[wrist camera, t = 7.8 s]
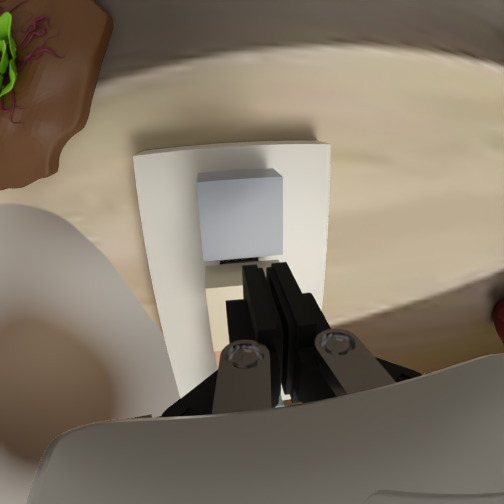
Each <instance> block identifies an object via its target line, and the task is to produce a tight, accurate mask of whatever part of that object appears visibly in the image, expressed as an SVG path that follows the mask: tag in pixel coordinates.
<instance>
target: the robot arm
mask: <svg viewBox="0 0 504 504" xmlns="http://www.w3.org/2000/svg"><path fill="white" fill-rule="evenodd" d="M242 279H243V299H238V300H226V314H227V325H228V335H229V344H228V345H227V346H225V348H224V349H223V350H222V352H221V354H220V360H219V367H218V370H216V371H215V372H214V373H213V374H211V375H210V376H209V377H208V378H206V379H205V380H204V381H203V382H201V383H200V384H199V385H197V386H196V387H195V388H194V389H192V390H191V391H190V392H188V393H187V394H186V395H185V396H183V397H182V398H181V399H179V400H178V401H177V402H176V403H174V404H173V405H172V406H170V407H169V408H168V409H167V410H166V411H165V412H164V413H163V414H162V416H159V417H153V418H152V415H147V416H140V417H135V418H127V419H115V420H107V421H101V422H95V423H90V424H87V425H83V426H79V427H76V428H73V429H71V430H68V431H66V432H64V433H62V434H60V435H59V436H57V437H56V438H55V439H54V440H53V441H52V442H51V443H50V444H49V446H48V447H47V448H46V450H45V452H44V454H43V455H42V458H41V460H40V462H39V465H38V467H37V470H36V473H35V476H34V478H33V482H32V485H31V489H30V493H29V497H28V501H27V504H504V353H500V354H493V355H487V356H483V357H479V358H475V359H472V360H469V361H466V362H463V363H460V364H456V365H453V366H450V367H447V368H444V369H441V370H438V371H435V372H427V373H425V374H424V375H421V374H420V373H418V372H416V371H414V370H411V369H408V368H405V367H402V366H399V365H396V364H393V363H390V362H387V361H385V360H382V359H379V358H376V357H374V356H373V355H372V354H371V352H370V351H369V350H368V349H367V348H366V347H365V345H364V344H363V343H362V342H361V341H360V340H359V338H358V337H357V336H355V335H354V334H353V333H351V332H349V331H347V330H343V329H331V328H330V326H329V324H328V323H327V321H326V319H325V317H324V315H323V313H322V311H321V309H320V308H319V306H318V304H317V302H316V300H315V298H314V296H313V295H312V293H310V292H309V293H302V292H301V290H300V288H299V286H298V284H297V282H296V280H295V278H294V276H293V274H292V272H291V270H290V268H289V266H288V264H287V262H279V263H272V264H271V267H267V268H266V276H265V273H264V270H263V268H258V267H257V264H255V265H242ZM281 384H282V388H283V391H284V394H285V395H289V394H290V397H291V400H292V403H295V402H302V404H296V405H290V406H283V407H276V406H277V405H278V403H279V396H280V395H281ZM275 407H276V408H275Z"/></svg>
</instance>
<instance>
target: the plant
mask: <svg viewBox="0 0 504 504" xmlns="http://www.w3.org/2000/svg"><path fill="white" fill-rule="evenodd" d="M112 29H113V20H112V18H111V17H110V16H109V15H108V14H107V13H106V12H105V11H104V10H102V9H101V8H100V7H99V6H98V4H97V3H96V2H95V1H94V0H0V190H5V189H7V188H22V187H25V186H27V185H29V184H31V183H33V182H34V181H36V180H37V179H41V178H45V177H48V176H51V175H53V174H55V173H56V172H57V171H58V167H59V157H60V153H61V151H62V149H63V147H64V145H65V144H66V143H67V141H68V140H69V139H70V138H71V137H72V136H73V135H75V134H76V133H78V132H79V131H81V130H82V129H83V128H84V126H85V124H86V122H87V119H88V116H89V112H90V107H91V102H92V98H93V95H94V91H95V87H96V83H97V79H98V75H99V71H100V67H101V64H102V60H103V57H104V54H105V52H106V49H107V46H108V43H109V40H110V36H111V33H112Z"/></svg>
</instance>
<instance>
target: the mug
mask: <svg viewBox="0 0 504 504" xmlns="http://www.w3.org/2000/svg"><path fill="white" fill-rule="evenodd" d="M493 321H494V324H495V328H496V331H497V333H498V335H499V337H500V339H501V340H502V342H503V343H504V299H502V300H501V301H500V302H499V303H498V304H497V306H496V308H495V310H494V312H493Z"/></svg>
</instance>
